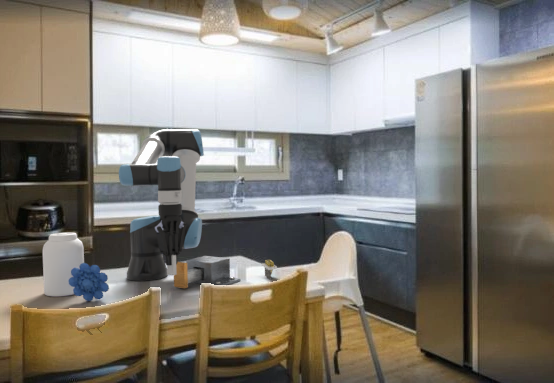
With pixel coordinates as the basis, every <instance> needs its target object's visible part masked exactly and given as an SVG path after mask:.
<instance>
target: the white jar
mask: <svg viewBox="0 0 554 383" xmlns="http://www.w3.org/2000/svg"><path fill="white" fill-rule="evenodd" d="M84 247H85V246H84V244H83V241H82V240H81V239H79V238H78V234H77V233H76V232H56V233H50V234H49V235H48V240H47V241H46V242H45V243H44V244H43V246H42V268H43V269H42V271H43V272H42V273H43V293H44V295H45V296H48V297H54V298H55V297H69V296H73V295H75V294H74V292H73V289H74V288H75V287H72V286H71V285H70V284H69V281H68V280H69V279H70V278H71V277H73V276H72V275H71V270H72V269H73V268H79V266H80V264H82V263H85V255H84V254H85V253H84V252H85V249H84ZM79 269H80V268H79Z"/></svg>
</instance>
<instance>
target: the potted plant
mask: <svg viewBox="0 0 554 383" xmlns="http://www.w3.org/2000/svg"><path fill="white" fill-rule="evenodd" d="M261 267H263V268H264V277H266V279H268V280H269V281H271V280H272V278H271V277H272V274H273V271H274V270H276V269H278V266H277V265H275V263H274V261H272V260H271V259H265V262H263V263H261Z"/></svg>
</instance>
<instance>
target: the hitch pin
mask: <svg viewBox="0 0 554 383" xmlns="http://www.w3.org/2000/svg"><path fill="white" fill-rule="evenodd" d="M176 273H177V275H173V287H175V288H180V289H187V288H189V286H188V285H189V284H192V283H191V282H194V281H198V280H201V279H204V268H201V267H197V268H193V269H189V270H187V263H186V261H185V262H184V261H178V260H177V264H176Z"/></svg>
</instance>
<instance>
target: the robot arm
mask: <svg viewBox="0 0 554 383" xmlns="http://www.w3.org/2000/svg"><path fill="white" fill-rule="evenodd" d="M202 139H203V138H202V134H201V131H200V130H199V129H197V128H196V129H193V128H188V129H187V128H186V129H184V128H183V129H179V128H178V129H168V128H167V129H161V130H157V131H155V132H152V133H151V134H149V135H147V136H146V137H145V138H144V140H142V143H141V146H140V150H139V152H138V153H137V155H136V156H135V158H134V159H133V160H132V162H131V163H126V164H125V163H124V164H121V165H120V166H119V169H118V180H119V183H120V185H122V186H123V187H124V186H125V187H139V186H140V187H142V186H144V187H146V186H157V203H159V204H158V209H157V210H158V215H151V216H149V215H148V216H143V217H138V218H134V219H133V220H131V222H130V225H129V226H130V228H129V229H130V231H129V233H130V236H129V237H130V260H129V264H128V268H127V271H126V279H127V280H129V281H135V282H141V281H144V282H145V281H154V280H159V279H164V278H166V277H168V275H169V276H174V275H177V273H176V264H177V261H178V255H180V253H181V252H182V251H183V249H185V250H187V249H193V248H197V247H198V246H199V245H200V242H201V237H202V230H203V229H202V228H203V220H202V218H201V217H199V214H198V213H197V212H196V211H195V210H196V208H195V207H196V204H195V203H196V182H197V181H196V180H197V177H196V176H197V163H199V162H200V159H201V157H203V156H205V154H204V153H205V152H204V146H203V140H202ZM164 256H165V259H164Z"/></svg>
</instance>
